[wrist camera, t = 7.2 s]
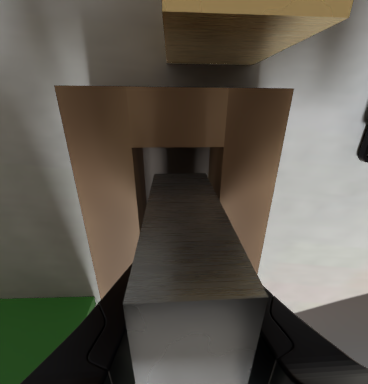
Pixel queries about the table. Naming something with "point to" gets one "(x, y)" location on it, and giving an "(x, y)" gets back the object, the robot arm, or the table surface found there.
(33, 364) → the hardback book
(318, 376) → the robot arm
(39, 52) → the table surface
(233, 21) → the square bit
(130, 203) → the socket block
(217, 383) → the block
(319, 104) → the table surface
